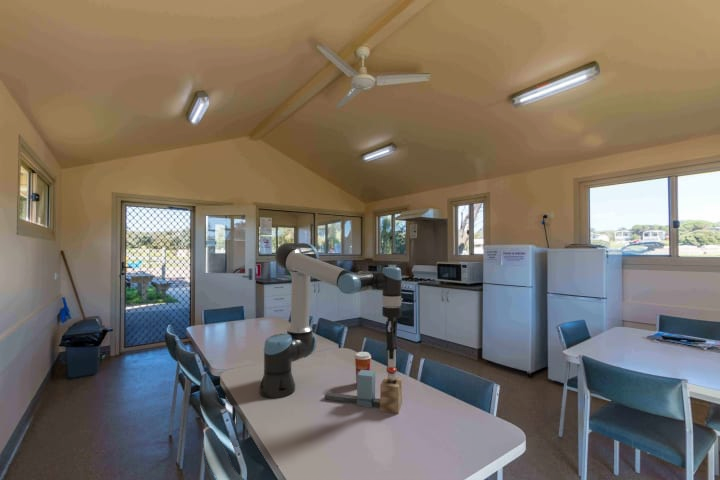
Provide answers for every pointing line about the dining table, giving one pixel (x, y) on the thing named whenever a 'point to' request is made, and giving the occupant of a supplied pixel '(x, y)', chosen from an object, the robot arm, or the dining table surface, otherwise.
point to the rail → (348, 399)
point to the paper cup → (362, 362)
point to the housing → (391, 396)
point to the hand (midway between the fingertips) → (391, 366)
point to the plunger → (391, 374)
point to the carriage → (365, 388)
